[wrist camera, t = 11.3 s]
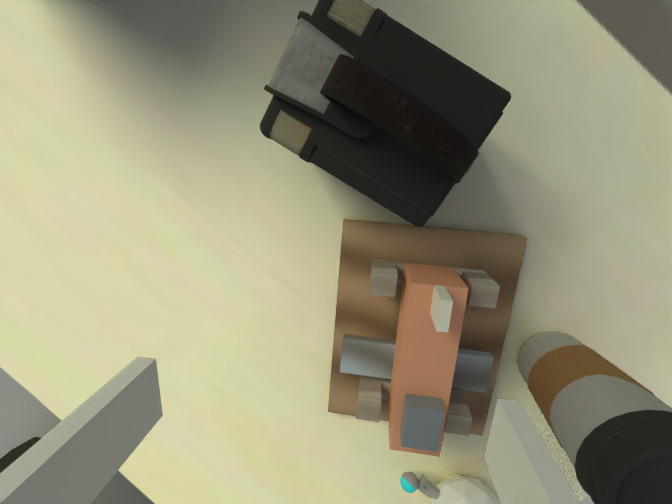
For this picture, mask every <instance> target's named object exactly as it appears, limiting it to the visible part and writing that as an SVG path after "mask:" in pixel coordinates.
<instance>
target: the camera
mask: <svg viewBox="0 0 672 504" xmlns="http://www.w3.org/2000/svg"><path fill="white" fill-rule="evenodd" d="M297 18H298V20H299V21H298V23H297V25H296V27H295V30H294V32H293V34H292V36H291V38H290V40H289V42H288V45H287V47H286V49H285V51H284V53H283V55H282V57H281V60H280V62H279V64H278V66H277V68H276V70H275V72H274V75H273V77H272V79H271V81H270V83H269V85H268V86H267V85H266V86H265V88H264V89H265V90H266V91H268V92H269V93H271V94H273V95H274V96H273V98H272V100H271V102H270V104H269V106H268V108H267V111H266V113H265V115H264V117H263V119H262V121H261V123H260V130H261V132H262V134H263V135H264V136H266V137H267V138H269V139H272V140H274V141H275V142H277V143H279V144H280V145H282V146H284V147H285V148H287V149H289V150H290V151H292V152H293V153H295V154H297V155H298V156H299V157H300V158H301V159H303V160H305V161H306V162H312V163H313V164H315V165H317V166H318V167H320V168H322V169H323V170H325V171H327V172H328V173H330V174H331V175H333V176H335V177H336V178H338V179H340V180H341V181H343V182H345V183H346V184H348V185H349V186H351V187H353V188H354V189H356V190H358V191H359V192H361V193H363V194H364V195H366V196H367V197H369V198H371V199H372V200H374V201H376V202H377V203H379V204H381V205H382V206H384V207H385V208H387V209H389V210H390V211H392V212H394V213H395V214H397V215H399V216H400V217H402V218H403V219H405V220H407V221H408V222H410V223H412V224H413V225H415V226H417V227H423V226H424V225H425V223H426V222H427V221H428V219H429V218H430V216H433V215H434V213H435V212H436V210H437V209H438V208H439V206H440V205H441V203H442V202H443V200H444V199H445V197H446V196H447V194H448V193H449V191H450V190H451V189H452V187H453V186H454V184H455V183H459V182H460V180H461V179H462V178H463V176H464V175H465V174H466V173H467V172H468V170H469V169H470V167H471V165H472V163H473V162H474V160H475V159H476V157H477V156H478V154H479V152H478V149H479V148H480V146H481V145H482V143H483V142H484V140H485V139H486V138H487V136H488V135H489V133H490V132H491V130H492V129H493V127H494V126H495V124H496V123H497V122H498V120H499V119H500V117H501V116H502V114H503V112H502V111H503V110H504V108H505V107H506V105H507V104H508V102H509V101H510V99H511V94H510V92H508V91H506V90H505V89H503V88H502V87H500V86H499V85H497V84H495V83H494V82H492V81H491V80H489V79H487V78H486V77H484V76H483V75H481V74H479V73H478V72H476V71H475V70H473V69H472V68H470V67H468V66H467V65H465V64H464V63H462V62H460V61H459V60H457V59H456V58H454V57H452V56H451V55H449V54H448V53H446V52H444V51H443V50H441V49H440V48H438V47H437V46H435V45H433V44H432V43H430V42H429V41H427V40H425V39H424V38H422V37H421V36H419V35H417V34H416V33H414V32H413V31H411V30H410V29H408V28H406V27H405V26H403V25H402V24H400V23H398V22H397V21H395V20H394V19H392V18H390V17H389V16H387V14H386V13H385V12H383V11H382V10H380V9H378V8H377V9H374V8H373V7H371V6H370V5H368V4H366V3H365V2H363V1H362V0H319V1H318V3H317V6H316V8H315V10H314V12H313V14H312V16H311V15H309V14H308V13H306V12H303V11H300V13H299V15H298V17H297Z"/></svg>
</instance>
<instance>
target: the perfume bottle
mask: <svg viewBox="0 0 672 504" xmlns="http://www.w3.org/2000/svg"><path fill="white" fill-rule="evenodd" d="M401 486H402V488H403V489H404V490H405V491H406V492H408V493H412V492H414V491H415V490H416V489H417V488H418V489H419V490H420V491H421V492H423V493H424V494H426V495H427V496H428V497H430V498H432V499H431V503H430V504H501V503H500V500H499V499H498V498H497V497H496V496H495V495H494V494H493V493H492V492H491V491H490V490H489V489H488V488H487V487H486V486H485V485H484V484H483V483H482V482H481V481H480V480H479V479H476V478H471V477H466V476H462V475H457V474H454V475H452V476H451V477H449V478H447V479H446V480H444V481H442V482H441V483H439V484H437V485H436V487H434V486H433V485H432V484H431V483H430V482H429V481H428V480H427V479H426V478H425V477H424V476H423V475H422V476H421V479H420V480H419V479H418V478H417V476H416V475H415V474H414V473H412V472H405V473H403V474H402V477H401Z"/></svg>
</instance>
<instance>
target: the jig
mask: <svg viewBox="0 0 672 504" xmlns="http://www.w3.org/2000/svg"><path fill="white" fill-rule="evenodd" d="M526 241H527V238H526V237H524V236H522V235H512V234H501V233H490V232H479V231H469V230H458V229H447V228H436V227H425V226H423V227H417V226H415V225H404V224H393V223H382V222H372V221H361V220H350V219H344V221H343V231H342V243H341V256H340V268H339V281H338V293H337V306H336V318H335V331H334V343H333V356H332V368H331V381H330V393H329V406H328V412H333V413H339V414H346V415H352V416H356V419H362V420H369V421H375V422H379V420H385V421H389V416H388V403H389V394H390V386H391V377H392V369H393V361H394V352H395V344H396V335H397V327H398V318H399V310H400V301H401V293H402V284H403V276H404V268H405V263H411V264H422V265H433V266H444V267H453V268H454V270H455V271H456V272H457V274H458V275H459V276H460V278H461V279H462V280H463V282H464V283H465V284H466V286H467V287H468V288H469V289H468V295H467V301H466V307H465V312H464V318H463V324H462V330H461V336H460V341H459V347H458V353H457V359H456V364H455V370H454V376H453V382H452V388H451V393H450V399H449V405H448V411H447V417H446V422H445V428H444V432H447V433H454V434H460V435H467V436H468V435H469V433H471V434H477V435H483V430H484V426H485V422H486V417H487V413H488V408H489V404H490V400H491V395H492V391H493V386H494V382H495V377H496V373H497V369H498V364H499V360H500V355H501V351H502V347H503V342H504V338H505V333H506V329H507V324H508V320H509V316H510V311H511V307H512V302H513V298H514V294H515V289H516V285H517V280H518V276H519V271H520V267H521V263H522V258H523V254H524V249H525V245H526Z"/></svg>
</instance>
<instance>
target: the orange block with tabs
mask: <svg viewBox="0 0 672 504" xmlns="http://www.w3.org/2000/svg"><path fill="white" fill-rule="evenodd" d="M468 289H469V288H468V287H467V286H466V284H465V283H464V282H463V280H462V279H461V278H460V276H459V275H458V274H457V272H456V271H455V270H454V268H453V267H444V266H433V265H422V264H411V263H405V268H404V276H403V284H402V293H401V301H400V310H399V318H398V327H397V335H396V344H395V352H394V361H393V369H392V377H391V386H390V394H389V403H388V416H389V440H390V449H393V450H399V451H406V452H413V453H419V454H426V455H433V456H439V457H440V451H441V445H442V440H443V434H444V428H445V422H446V417H447V411H448V405H449V399H450V393H451V388H452V382H453V376H454V370H455V364H456V359H457V353H458V347H459V341H460V336H461V330H462V324H463V318H464V312H465V307H466V301H467V295H468Z"/></svg>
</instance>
